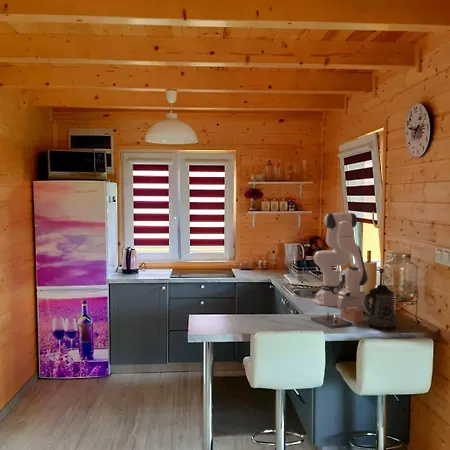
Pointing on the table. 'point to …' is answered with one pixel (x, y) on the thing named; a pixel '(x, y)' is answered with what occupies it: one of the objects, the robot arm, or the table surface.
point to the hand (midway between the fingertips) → (351, 314)
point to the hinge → (366, 309)
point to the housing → (353, 314)
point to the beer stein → (381, 309)
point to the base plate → (331, 321)
